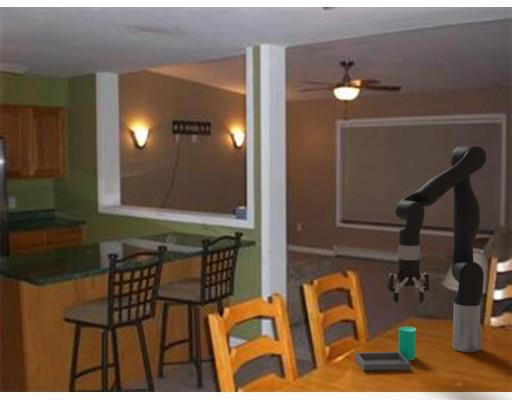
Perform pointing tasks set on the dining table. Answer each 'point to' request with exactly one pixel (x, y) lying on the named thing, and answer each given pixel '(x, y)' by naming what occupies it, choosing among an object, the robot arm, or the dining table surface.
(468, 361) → the dining table surface
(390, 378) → the dining table surface
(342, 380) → the dining table surface
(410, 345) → the candle
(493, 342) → the dining table surface
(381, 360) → the tray
